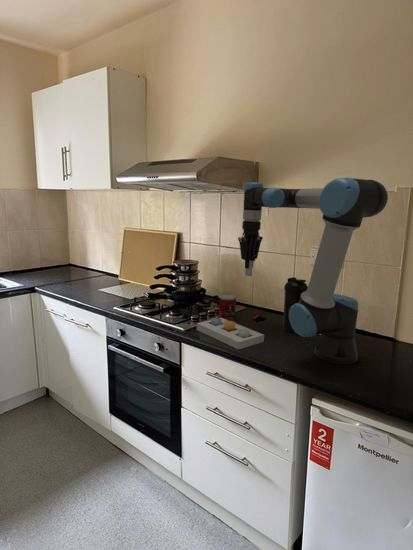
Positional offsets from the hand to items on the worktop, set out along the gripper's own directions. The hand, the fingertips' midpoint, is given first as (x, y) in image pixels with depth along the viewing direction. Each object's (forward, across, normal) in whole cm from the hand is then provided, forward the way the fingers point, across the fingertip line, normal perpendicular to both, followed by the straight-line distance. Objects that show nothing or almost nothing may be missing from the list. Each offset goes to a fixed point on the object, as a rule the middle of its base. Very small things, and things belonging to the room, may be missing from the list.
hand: (248, 275), depth 167 cm
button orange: (+22, +13, +3) cm, 25 cm away
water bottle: (+24, -16, +14) cm, 32 cm away
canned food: (+24, -2, -14) cm, 28 cm away
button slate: (+23, +12, -6) cm, 26 cm away
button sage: (+23, +13, +12) cm, 28 cm away
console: (+24, +13, +3) cm, 27 cm away
